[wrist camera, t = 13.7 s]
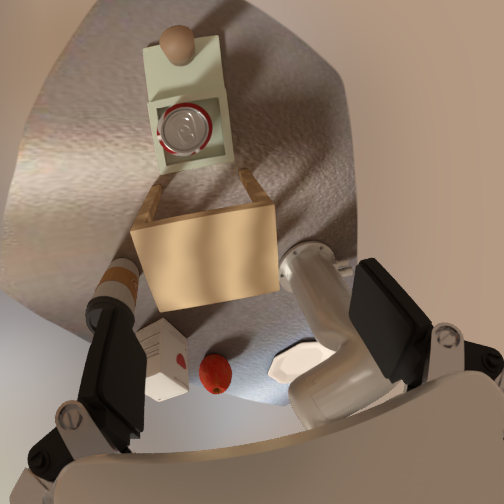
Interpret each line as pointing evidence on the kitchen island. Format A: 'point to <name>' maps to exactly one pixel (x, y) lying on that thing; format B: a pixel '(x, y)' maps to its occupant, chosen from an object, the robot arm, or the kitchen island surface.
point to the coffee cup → (115, 292)
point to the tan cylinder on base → (188, 93)
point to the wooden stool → (209, 250)
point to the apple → (215, 373)
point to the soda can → (184, 129)
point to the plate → (298, 361)
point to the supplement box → (164, 360)
